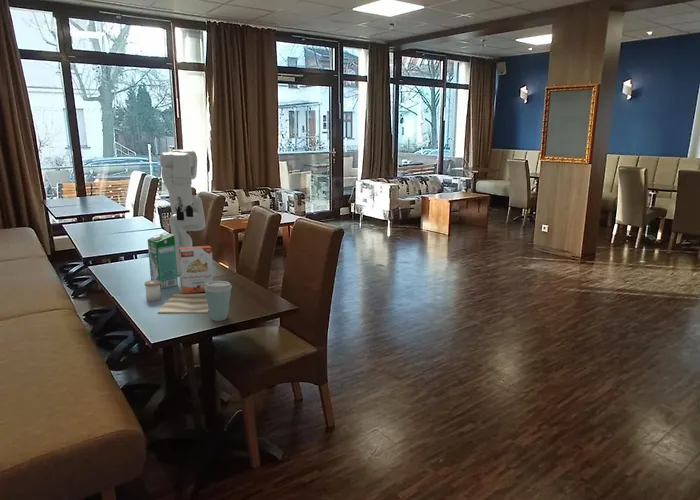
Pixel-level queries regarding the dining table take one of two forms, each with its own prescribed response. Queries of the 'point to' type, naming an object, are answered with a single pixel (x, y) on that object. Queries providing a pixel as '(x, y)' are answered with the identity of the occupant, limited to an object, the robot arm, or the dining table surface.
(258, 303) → the dining table surface
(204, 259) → the cracker box
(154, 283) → the tan and white mushroom
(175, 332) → the dining table surface
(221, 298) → the disposable coffee cup
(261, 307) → the dining table surface
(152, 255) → the milk carton
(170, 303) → the beech board
